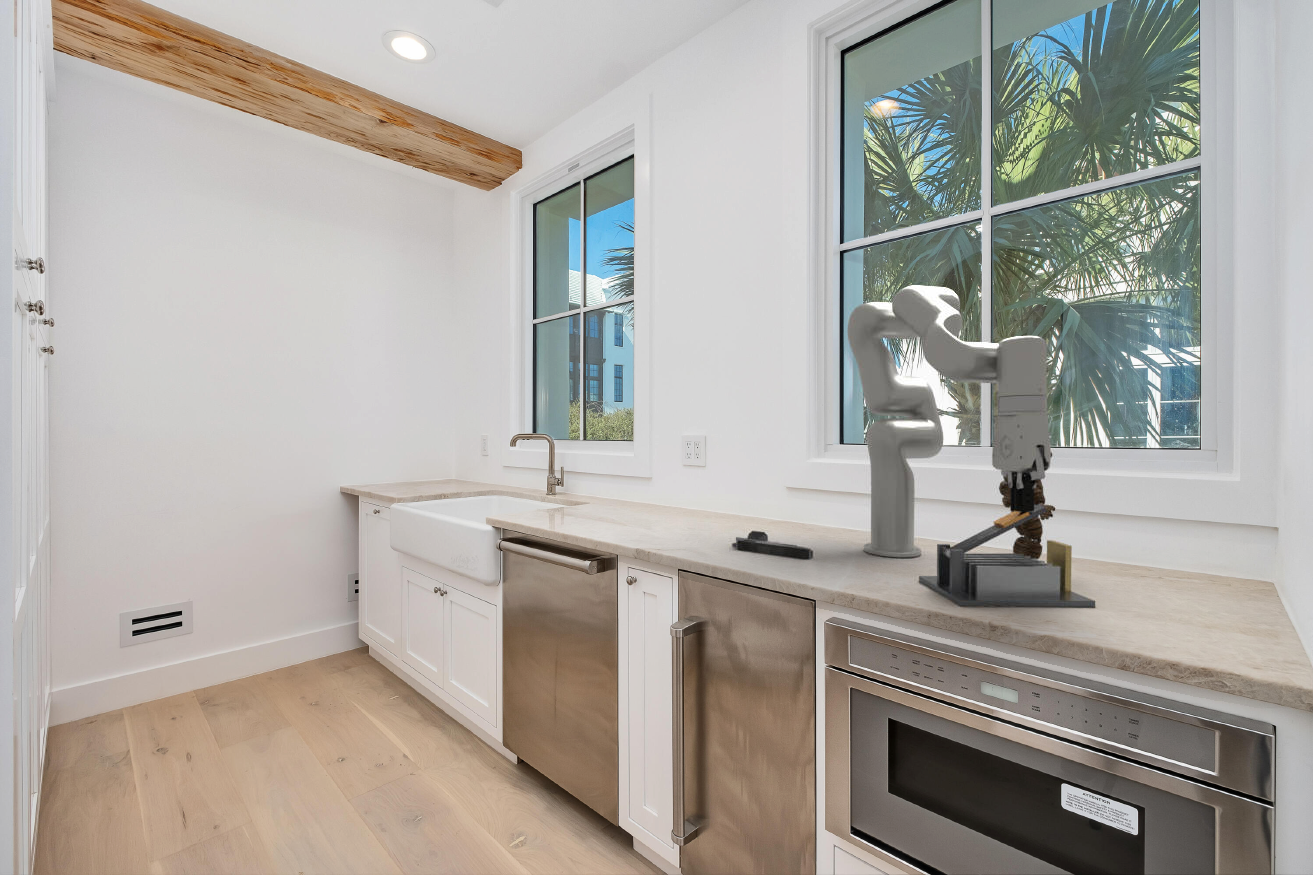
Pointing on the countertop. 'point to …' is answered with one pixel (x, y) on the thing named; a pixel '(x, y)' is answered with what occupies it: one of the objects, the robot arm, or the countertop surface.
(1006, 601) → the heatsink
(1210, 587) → the countertop surface
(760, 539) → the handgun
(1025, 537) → the toy
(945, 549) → the dark grey lever
